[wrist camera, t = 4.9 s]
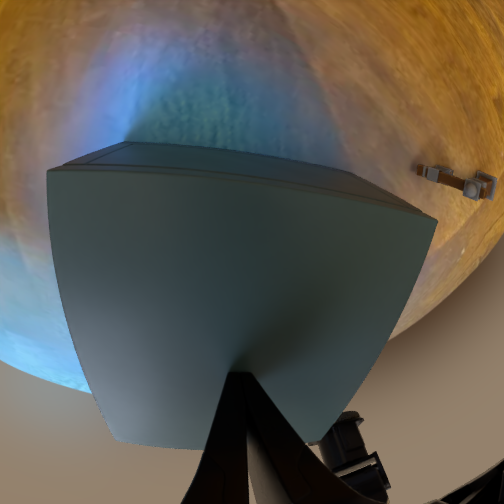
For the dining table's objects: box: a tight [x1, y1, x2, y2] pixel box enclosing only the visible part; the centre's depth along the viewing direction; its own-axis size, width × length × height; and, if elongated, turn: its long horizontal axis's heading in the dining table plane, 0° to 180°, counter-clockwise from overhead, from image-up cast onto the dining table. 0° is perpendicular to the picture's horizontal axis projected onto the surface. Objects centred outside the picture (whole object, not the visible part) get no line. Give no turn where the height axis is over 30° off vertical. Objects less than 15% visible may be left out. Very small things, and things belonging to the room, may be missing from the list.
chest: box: [62, 142, 423, 213], centre depth 12 cm, size 13×12×6 cm
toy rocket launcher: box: [417, 165, 497, 201], centre depth 13 cm, size 2×8×4 cm, turn 88°
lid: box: [47, 165, 438, 450], centre depth 9 cm, size 13×12×1 cm
